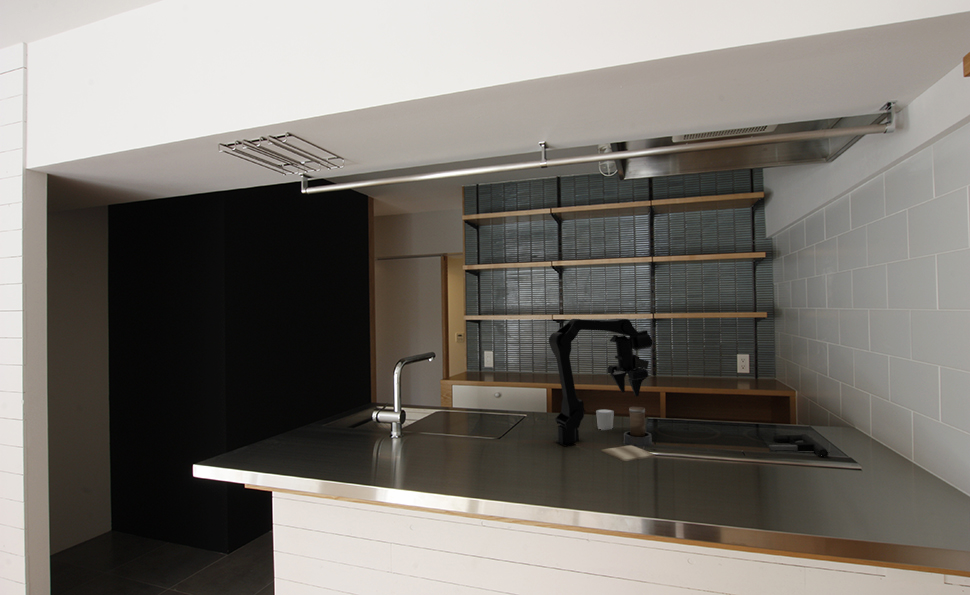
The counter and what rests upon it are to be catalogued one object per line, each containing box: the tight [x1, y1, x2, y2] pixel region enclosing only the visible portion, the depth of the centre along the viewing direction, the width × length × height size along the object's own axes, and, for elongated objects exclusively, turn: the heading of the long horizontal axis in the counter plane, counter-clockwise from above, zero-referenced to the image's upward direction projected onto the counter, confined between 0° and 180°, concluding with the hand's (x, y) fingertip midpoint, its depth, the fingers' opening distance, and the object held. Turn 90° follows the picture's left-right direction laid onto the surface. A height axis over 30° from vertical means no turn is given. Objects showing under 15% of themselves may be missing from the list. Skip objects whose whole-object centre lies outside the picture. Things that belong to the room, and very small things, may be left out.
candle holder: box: [622, 430, 654, 448], centre depth 181 cm, size 10×10×4 cm
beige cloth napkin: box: [600, 445, 656, 462], centre depth 168 cm, size 12×12×2 cm
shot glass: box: [595, 408, 615, 431], centre depth 206 cm, size 7×7×7 cm
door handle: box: [769, 433, 829, 457], centre depth 174 cm, size 3×20×16 cm
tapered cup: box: [628, 406, 646, 437], centre depth 181 cm, size 5×5×12 cm
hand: (629, 394), depth 193 cm, fingers open, 9 cm apart
